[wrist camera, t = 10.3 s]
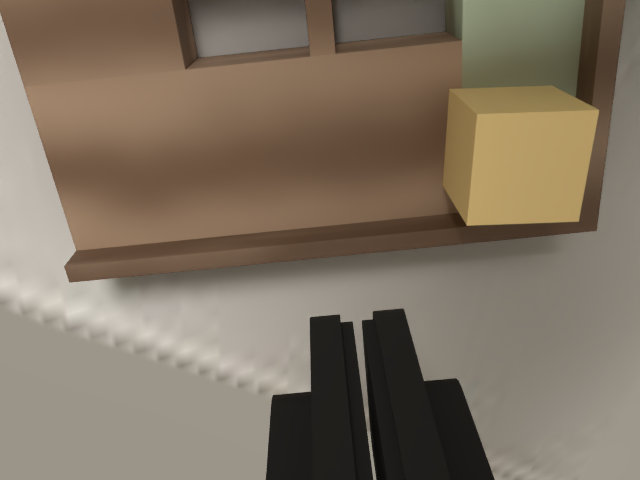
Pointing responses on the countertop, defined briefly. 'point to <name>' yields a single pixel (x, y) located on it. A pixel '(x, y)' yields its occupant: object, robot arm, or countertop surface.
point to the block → (517, 154)
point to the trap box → (283, 128)
